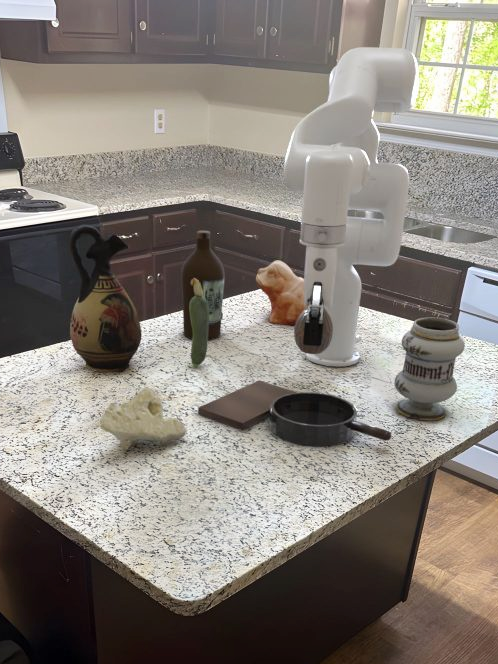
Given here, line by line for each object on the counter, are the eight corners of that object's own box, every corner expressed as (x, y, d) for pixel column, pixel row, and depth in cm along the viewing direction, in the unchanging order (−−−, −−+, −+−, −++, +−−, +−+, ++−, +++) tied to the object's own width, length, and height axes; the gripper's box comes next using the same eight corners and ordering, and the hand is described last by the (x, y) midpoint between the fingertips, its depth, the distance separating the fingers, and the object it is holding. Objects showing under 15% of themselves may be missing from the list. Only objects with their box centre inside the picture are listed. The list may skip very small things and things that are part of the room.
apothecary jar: (385, 417, 143) (400, 327, 133) (395, 395, 152) (408, 311, 143) (448, 427, 139) (467, 336, 130) (453, 405, 149) (471, 318, 140)
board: (258, 386, 154) (258, 380, 154) (301, 400, 149) (301, 393, 148) (198, 414, 141) (198, 407, 140) (242, 430, 135) (242, 423, 134)
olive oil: (172, 333, 184) (172, 230, 171) (203, 326, 190) (204, 226, 177) (200, 344, 178) (202, 237, 165) (231, 335, 184) (235, 232, 171)
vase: (334, 347, 133) (339, 299, 128) (326, 359, 127) (331, 309, 122) (297, 342, 134) (301, 295, 130) (288, 354, 129) (292, 305, 124)
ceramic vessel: (259, 308, 206) (262, 254, 198) (351, 318, 201) (357, 262, 193) (248, 322, 195) (251, 265, 187) (345, 332, 189) (352, 274, 182)
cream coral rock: (170, 433, 138) (106, 386, 132) (193, 414, 133) (128, 364, 127) (150, 490, 128) (79, 443, 122) (173, 472, 123) (101, 421, 117)
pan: (299, 404, 147) (301, 385, 145) (370, 426, 138) (372, 407, 136) (252, 428, 136) (253, 409, 134) (325, 454, 127) (327, 434, 125)
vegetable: (209, 365, 165) (211, 276, 155) (206, 371, 161) (208, 280, 151) (190, 364, 165) (190, 274, 155) (187, 370, 162) (187, 279, 151)
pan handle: (351, 426, 133) (352, 417, 132) (392, 440, 128) (393, 430, 127) (346, 429, 131) (347, 420, 130) (387, 443, 127) (389, 434, 126)
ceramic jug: (133, 352, 171) (129, 218, 155) (148, 375, 158) (145, 231, 143) (61, 358, 166) (49, 220, 150) (71, 381, 154) (58, 233, 138)
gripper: (345, 246, 112) (333, 356, 122) (345, 225, 127) (334, 324, 136) (297, 243, 113) (288, 352, 123) (302, 223, 128) (294, 322, 137)
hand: (312, 337), depth 129 cm, fingers closed on vase, 7 cm apart
